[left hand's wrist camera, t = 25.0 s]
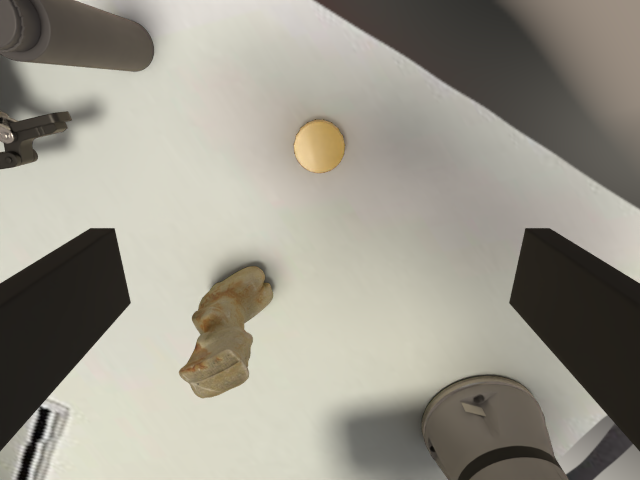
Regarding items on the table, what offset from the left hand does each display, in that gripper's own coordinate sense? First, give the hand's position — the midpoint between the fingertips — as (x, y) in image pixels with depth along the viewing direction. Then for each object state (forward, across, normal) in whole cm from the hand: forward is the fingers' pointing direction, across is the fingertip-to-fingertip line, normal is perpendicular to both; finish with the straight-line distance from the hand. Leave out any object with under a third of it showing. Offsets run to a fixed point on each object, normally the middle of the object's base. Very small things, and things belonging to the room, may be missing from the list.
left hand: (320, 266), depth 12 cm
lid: (+25, 0, 0) cm, 25 cm away
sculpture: (+27, +9, +15) cm, 32 cm away
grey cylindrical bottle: (+27, +17, -9) cm, 33 cm away
